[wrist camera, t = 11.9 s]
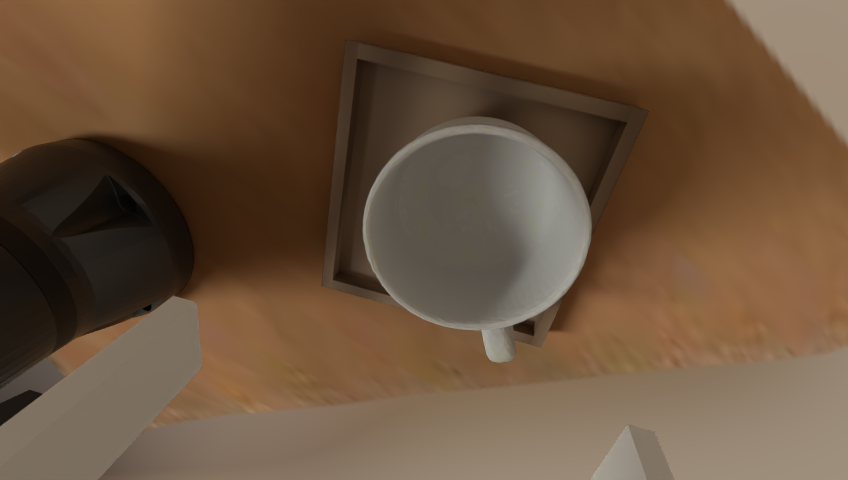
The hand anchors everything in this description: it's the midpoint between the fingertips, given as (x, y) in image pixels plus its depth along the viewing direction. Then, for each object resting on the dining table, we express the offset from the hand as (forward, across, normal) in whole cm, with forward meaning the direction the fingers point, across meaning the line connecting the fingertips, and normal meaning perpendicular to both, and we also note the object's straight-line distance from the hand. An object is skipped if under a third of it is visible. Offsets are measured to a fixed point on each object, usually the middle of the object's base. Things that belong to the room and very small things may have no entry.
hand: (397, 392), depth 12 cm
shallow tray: (+17, 0, 0) cm, 17 cm away
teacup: (+16, +2, 0) cm, 17 cm away
